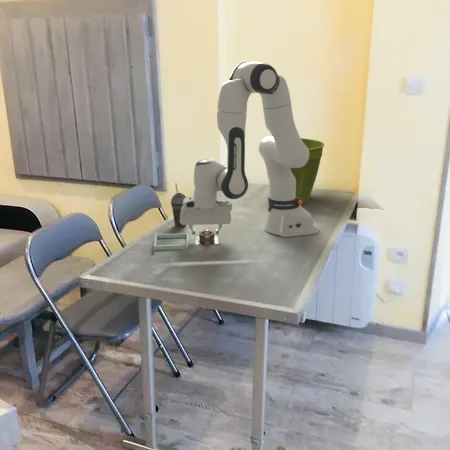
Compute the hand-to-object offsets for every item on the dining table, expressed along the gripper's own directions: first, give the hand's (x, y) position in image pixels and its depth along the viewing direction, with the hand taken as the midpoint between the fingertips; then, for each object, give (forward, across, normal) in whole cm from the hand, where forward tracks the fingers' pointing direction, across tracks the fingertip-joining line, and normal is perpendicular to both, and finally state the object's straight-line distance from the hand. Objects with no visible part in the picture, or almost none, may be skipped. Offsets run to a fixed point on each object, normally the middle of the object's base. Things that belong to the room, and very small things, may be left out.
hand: (205, 234), depth 208 cm
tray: (+4, +14, +1) cm, 14 cm away
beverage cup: (+4, +10, -19) cm, 22 cm away
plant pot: (+2, -45, -55) cm, 71 cm away
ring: (+3, -1, +1) cm, 3 cm away
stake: (+4, -1, -1) cm, 4 cm away
